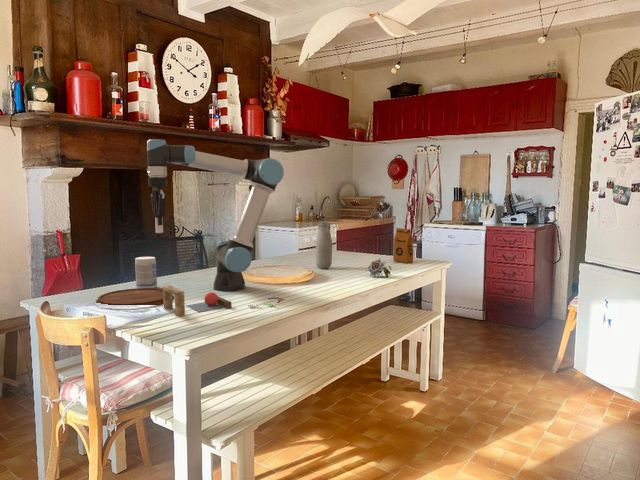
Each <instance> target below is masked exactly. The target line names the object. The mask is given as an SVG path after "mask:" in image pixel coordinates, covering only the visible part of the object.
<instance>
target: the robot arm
mask: <svg viewBox="0 0 640 480" xmlns="http://www.w3.org/2000/svg"><path fill="white" fill-rule="evenodd" d="M146 156H147V158H146V159H147V160H146V161H147V162H146V163H147V168H146V171H147V176H148V177H147V186H148V187H152V191H151V193H150V194H149V196H150V199H151V200H150V201H151V210H152V215H153V216H154V219H155V225H154V229H155V234H163V233H164V223H163V222H164V221H163V220H164V219H163V218H164V217H165V213H166V198H167V194H166V193H165V191H164V187H167V186H168V178H167V177H168V170H167V169H168V168H167V163H168V164H172V165H176V166H177V165H180V166H186V167H190V168H197V169H202V170H207V171H211V172H217V173H222V174H226V175H232V176H238V177H241V179H242V180H246V181H250V184H251V190H250V193H249V195H248V198H247V200H246V203H245V206H244V209H243V212H242V214H241V217H240V219H239V223H238V224H237V228H236V230H235V232H234V236H232V237H230V238H229V239H228V240H221V241H217V242H216V247H215V250H216V275H215V278H214V281H213V283H212V284H213V289H214V290H216V291H219V292H220V291H223V292H232V291H240V290H242V289H246V282H245V279H244V278H245V277H244V276H243V273H242V272H245V271H246V270H248V268H249V267H251V263H252V260H253V259H252V253H253V250H254V245H253V240H254V238H255V235H256V233H257V230H258V227H259V225H260V222H261V220H262V217H263V214H264V212H265V208H266V206H267V203H268V200H269V198H270V195H271V194H273V193H274V192H275V191H276V189H277V186H278V184H279V183H280V182H281V181H282V180H283V177H284V176H285V171H284V166H283V165H282V163H281V162H280V161H279V160H277V159H275V158H272V157H271V158H270V157H268V158H263V159H249V158H248V159H247V158H245V159H243V160H242V159H236V158H234V157H233V158H231V157H227V156H222V155H217V154H213V153H206V152H202V151H199V150H198V151H197V150H196V148H195V146H194V145H187V144H186V145H185V144H184V145H183V144H181V145H180V144H178V145H177V144H176V145H174V144H171V145H170V144H167V142H166V140H165V139H157V138H155V139H154V138H153V139H151V138H150V139H148V140H147V142H146Z"/></svg>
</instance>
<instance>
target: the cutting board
mask: <svg viewBox="0 0 640 480" xmlns="http://www.w3.org/2000/svg"><path fill="white" fill-rule="evenodd" d="M173 300H175V295H174V294H172V301H173ZM95 302H96V303H101V304H108V305H159V306H161V305H162V306H164V305H163V288H157V287H156V288H137V287H135V288H127V289H120V290H114V291H113V290H112V291H110V292H105V293H103V294H101V295H99V296H98V297H97V299H96V300H95V301H94V303H95Z"/></svg>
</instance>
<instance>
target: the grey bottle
mask: <svg viewBox="0 0 640 480" xmlns="http://www.w3.org/2000/svg"><path fill="white" fill-rule="evenodd" d="M317 229H318V233H317V236H316V240H315V265H316V267H317V268H319V269H321V270H325V269H326V270H327V269H329V268H330V267H331V266H332V261H333V239H332V235H331V223H330V222H328V221H320V222H318V226H317Z"/></svg>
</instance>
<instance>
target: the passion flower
mask: <svg viewBox="0 0 640 480" xmlns="http://www.w3.org/2000/svg"><path fill="white" fill-rule="evenodd" d="M386 264H387V261H384V262H382V259H381V258H379V259H376V260H374V261H371V263H370V264H369V265H368V268H366V269H365V271H367V272H370V274H369V276H372V278H375V277H376V276H377V277H380V275H381V276H383V274H382V272H383V273H384V276H385V278H387V279H389V276H391V272H390V271H392V267H391V266H390V265H389V266H386ZM388 268H389V269H388Z"/></svg>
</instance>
